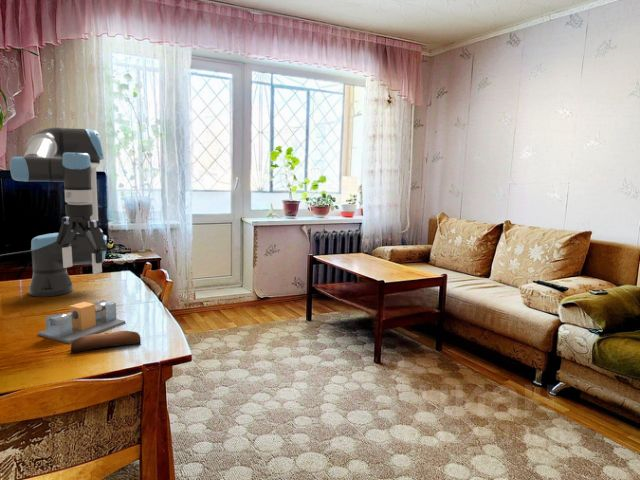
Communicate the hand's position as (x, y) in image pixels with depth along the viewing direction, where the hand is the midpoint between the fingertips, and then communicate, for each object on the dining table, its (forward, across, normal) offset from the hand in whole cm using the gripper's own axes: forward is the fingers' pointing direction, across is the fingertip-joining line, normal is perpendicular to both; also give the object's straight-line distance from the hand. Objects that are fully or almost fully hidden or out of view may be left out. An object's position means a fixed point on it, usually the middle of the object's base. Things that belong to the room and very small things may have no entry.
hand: (82, 270), depth 144 cm
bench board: (+18, +4, -3) cm, 19 cm away
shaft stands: (+18, +4, -3) cm, 19 cm away
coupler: (+17, +4, -3) cm, 18 cm away
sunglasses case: (+18, +20, -8) cm, 28 cm away
